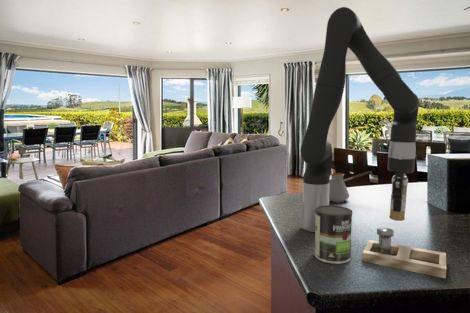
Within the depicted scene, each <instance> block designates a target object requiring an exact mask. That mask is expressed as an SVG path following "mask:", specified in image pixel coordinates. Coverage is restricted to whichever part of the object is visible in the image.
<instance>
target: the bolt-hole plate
mask: <svg viewBox="0 0 470 313" xmlns="http://www.w3.org/2000/svg"><path fill="white" fill-rule="evenodd" d="M378 247H379V240H378V241H377V240H374V239H373V240H372V239H369V240H368V242H367V243H366V245H365V247H364V249H363V251H362V253H361V254H362V255H361V261H362V262H366V263H371V264H375V265H380V266H383V267H389V268H393V269H399V270H404V271H408V272H414V273H417V274H423V275H427V276H432V277H437V278H442V279H446V278H447V254H446V253H447V252H443V251H442V252H441V251H436V250H431V249H430V250H429V249H424V248H418V247H413V246H409V245H408V246H406V245H402V244H396V243H391V253H390V255H387V254H382V253H378Z"/></svg>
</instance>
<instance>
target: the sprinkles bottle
mask: <svg viewBox="0 0 470 313" xmlns="http://www.w3.org/2000/svg"><path fill="white" fill-rule="evenodd" d="M408 185H409V179H408V178H407V180H406V184H405V192H404V193H403V195H402V198H403V199H402V203H401V211H400V212H396V211H393V201H394V199H393V197H392V196H393V191H392V190H391V195H390V206H389V208H390V209H389V215H388V216H389V219H390V220H393V221H395V222H398V221H399V222H401V221H405V219H406V218H405V215H406V207H407V206H406V205H407V191H408ZM392 186H393V182H392V181H391V187H392ZM402 189H403V188H402ZM395 195H400V193H396V194H395Z"/></svg>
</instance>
